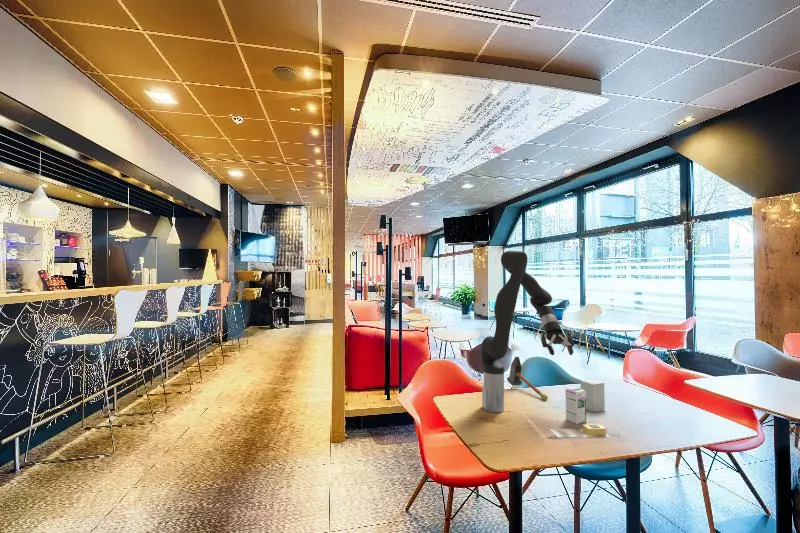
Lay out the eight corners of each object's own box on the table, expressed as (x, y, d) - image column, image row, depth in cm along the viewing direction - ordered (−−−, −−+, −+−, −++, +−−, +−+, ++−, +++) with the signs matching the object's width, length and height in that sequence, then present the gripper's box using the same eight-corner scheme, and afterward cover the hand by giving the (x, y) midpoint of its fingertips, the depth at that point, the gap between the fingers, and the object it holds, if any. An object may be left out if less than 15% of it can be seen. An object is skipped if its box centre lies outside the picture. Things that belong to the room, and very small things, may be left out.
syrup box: (577, 427, 150) (577, 392, 150) (565, 422, 155) (565, 388, 155) (586, 425, 153) (586, 390, 153) (574, 419, 158) (574, 386, 158)
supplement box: (605, 410, 169) (605, 382, 169) (593, 412, 167) (592, 384, 167) (592, 404, 176) (592, 378, 176) (580, 406, 174) (580, 379, 174)
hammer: (542, 381, 179) (510, 355, 208) (538, 411, 183) (506, 380, 211) (553, 381, 181) (519, 354, 209) (548, 409, 184) (515, 380, 212)
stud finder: (588, 435, 140) (588, 428, 140) (582, 430, 144) (582, 423, 144) (606, 434, 140) (606, 428, 140) (600, 430, 144) (600, 423, 144)
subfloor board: (562, 445, 134) (562, 441, 134) (545, 428, 148) (545, 425, 148) (615, 444, 135) (615, 440, 135) (594, 428, 149) (594, 425, 149)
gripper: (538, 320, 175) (549, 349, 163) (568, 320, 175) (580, 349, 164) (534, 330, 180) (544, 358, 168) (562, 329, 180) (574, 358, 169)
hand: (562, 354), depth 166 cm, fingers open, 8 cm apart
